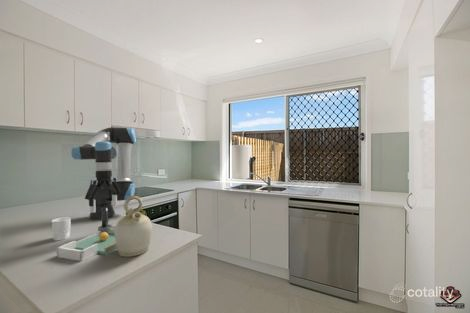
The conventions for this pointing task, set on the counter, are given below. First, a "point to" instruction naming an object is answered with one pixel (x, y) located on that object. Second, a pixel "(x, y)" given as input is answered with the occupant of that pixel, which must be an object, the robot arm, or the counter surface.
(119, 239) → the jug
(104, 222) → the black lever handle
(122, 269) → the counter surface
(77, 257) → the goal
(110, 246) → the pitch
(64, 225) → the white cup
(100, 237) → the ball
